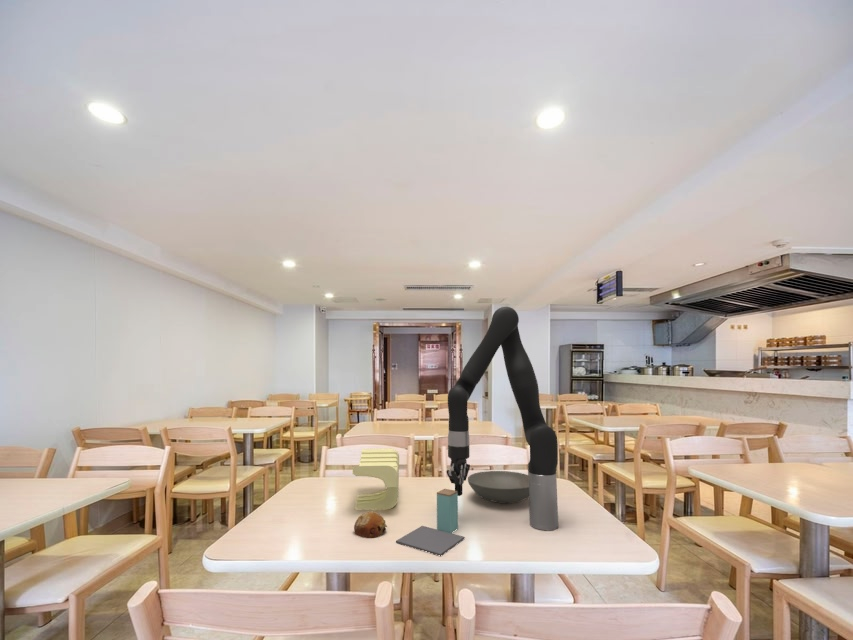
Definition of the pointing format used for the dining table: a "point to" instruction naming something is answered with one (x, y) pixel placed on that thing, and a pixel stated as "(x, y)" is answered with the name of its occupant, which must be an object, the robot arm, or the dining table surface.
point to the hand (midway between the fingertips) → (458, 495)
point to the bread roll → (370, 525)
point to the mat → (430, 540)
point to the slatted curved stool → (381, 467)
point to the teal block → (447, 510)
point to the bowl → (500, 486)
